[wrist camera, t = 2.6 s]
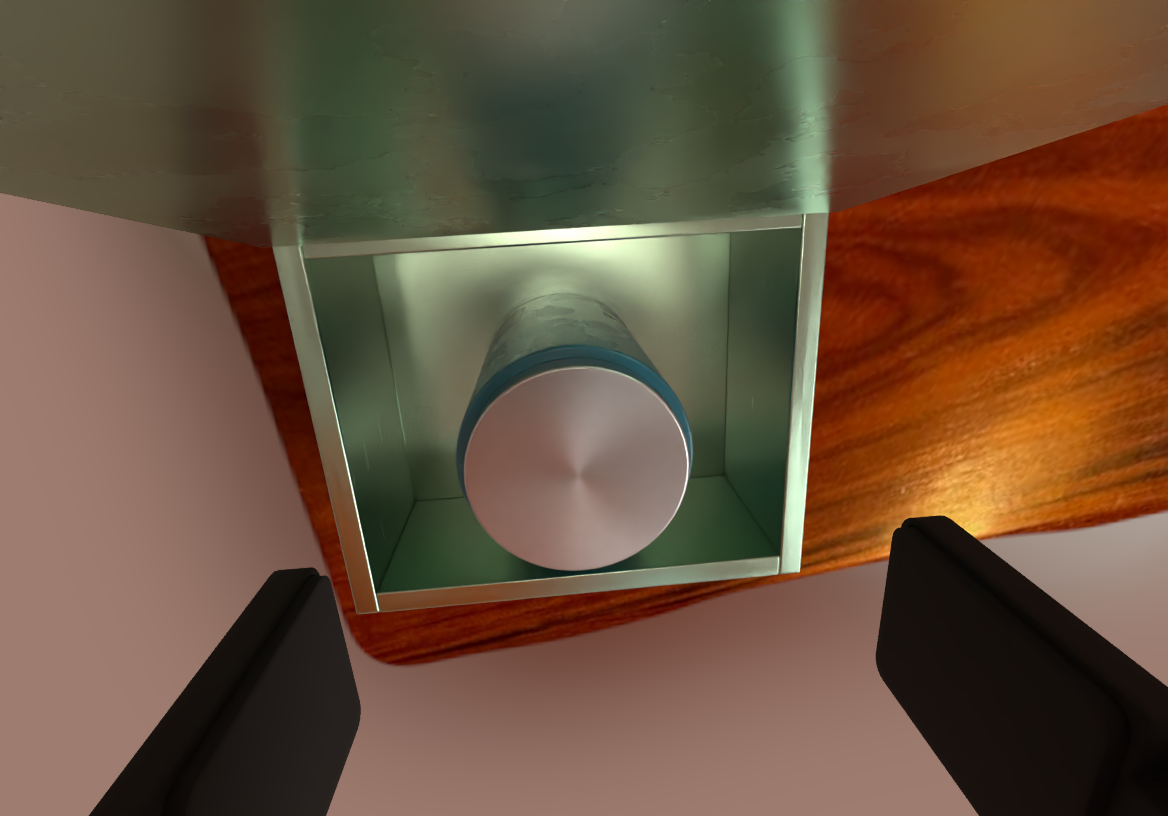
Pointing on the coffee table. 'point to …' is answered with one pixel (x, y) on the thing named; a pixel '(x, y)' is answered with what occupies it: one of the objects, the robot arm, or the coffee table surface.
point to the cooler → (456, 355)
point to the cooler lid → (540, 106)
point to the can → (572, 438)
